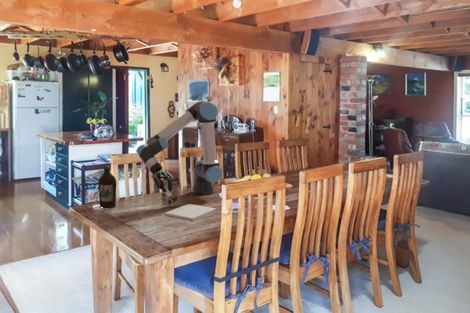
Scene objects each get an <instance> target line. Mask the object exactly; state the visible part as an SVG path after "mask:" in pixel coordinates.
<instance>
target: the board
mask: <svg viewBox="0 0 470 313" xmlns="http://www.w3.org/2000/svg"><path fill="white" fill-rule="evenodd" d="M213 211H214V212H216V211H217V208H215V207H209V206H204V205H198V204H193V203H188V204H185V205H181V206H179V207H177V208H173V209H172V210H168V211H166V212H164V215H165V216H169V217H175V218H180V219H186V220H190V221H195V220H197V219H199V218H202V217H204V216H206V215H209V214H212V213H213Z"/></svg>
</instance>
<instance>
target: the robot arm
mask: <svg viewBox="0 0 470 313" xmlns="http://www.w3.org/2000/svg"><path fill="white" fill-rule="evenodd" d="M218 114H219V110H218V106H216V104H215V103H214V102H211V101H205V100H201V101H197V102H195V103H194V104H192V105H191V106H190V107H189V108H187V109H186V110H185V112H184V113H183V114H182V115H181V116H179V117H178V118H176V119H175V120H174V121H172V122H171V123H170V124H168V125H167V126H166V127H164V128H163V129H161V131H159V132H158V133H156V134H155V135H153V136H151V137H148V138H147V140H146V144H145V143H143V144H141V145H139V146H138V147H137V148H136V153H137V155H138V157H139V158H140V159H141V160H142V162H143V164H144V165H145V166H146V168H147V169H148V170H149V172H150V173H151V178H152V179H153V181H154V183H155V185H156V187H157V189H159V190H161V191H162V190H163V192H164V193H165V194H166V195H167V197H169V196H170V195H171V193H170V192H169V191H168V189H167V188H166V186H164V184H163V181H162V179H167V178H175V177H174V176H173V175H172V174H171V173H170V172H169V171H168V170H163V166H162V164H161V163H160V162H159V160H158V159H157V158H156V155H158V154H159V153H161V152H163V151H164V150H166V149H167V148H169V145H170V144H169V143H168V141H169V140H170V139H172V137H174V136H176V135H177V134H178V133H179V132H181V131H182V130H183V129H184V128H187V126H189V124H191V123H195V122H196V121H198V124H199V125H200V130H201V140H202V141H201V142H202V151H203V153H202V154H203V160H196V161H195V166H194V168H195V170H194V172H195V174H194V176H195V182H194V185H193V187H192V188H193V189H192V193H193V194H195V195H199V196H200V195H202V196H205V195H206V196H207V195H212V194H215V188H214V185H213V183H217V182H219V181H220V180H221V179H222V177H223V170H222V168H221V167H220V161H219V160H218V159H217V150H216V149H217V146H216V137H215V136H216V134H215V124H216V122H217V116H218ZM181 192H182V190H181V188H180V187H179V194H180V193H181Z"/></svg>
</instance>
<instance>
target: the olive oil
mask: <svg viewBox="0 0 470 313" xmlns="http://www.w3.org/2000/svg"><path fill="white" fill-rule="evenodd" d="M97 185H98V196H99V197H98V198H99V208H101V207H103V208H102V209H106V208H107V209H113V208H116V206H117V179H116V177H115V176H114V175H113V174H112V173H111V166H110V165H107V166H104V167H103V173H102V174H101V176H99V178H98V182H97Z"/></svg>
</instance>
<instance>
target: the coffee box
mask: <svg viewBox="0 0 470 313" xmlns="http://www.w3.org/2000/svg"><path fill="white" fill-rule="evenodd" d="M162 181H163V184H164V186H166V188H167V189H168V191H169V192H170V193H171V195H170V196H169V197H167V195H166V194H165V193H164V192H163V190H162V189H161V205H162V206H165V207H168V208H169V207H172V206H176V205H179V204H180V193H179V188H180V178H179V177H174V178H167V179H163V178H162Z"/></svg>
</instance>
